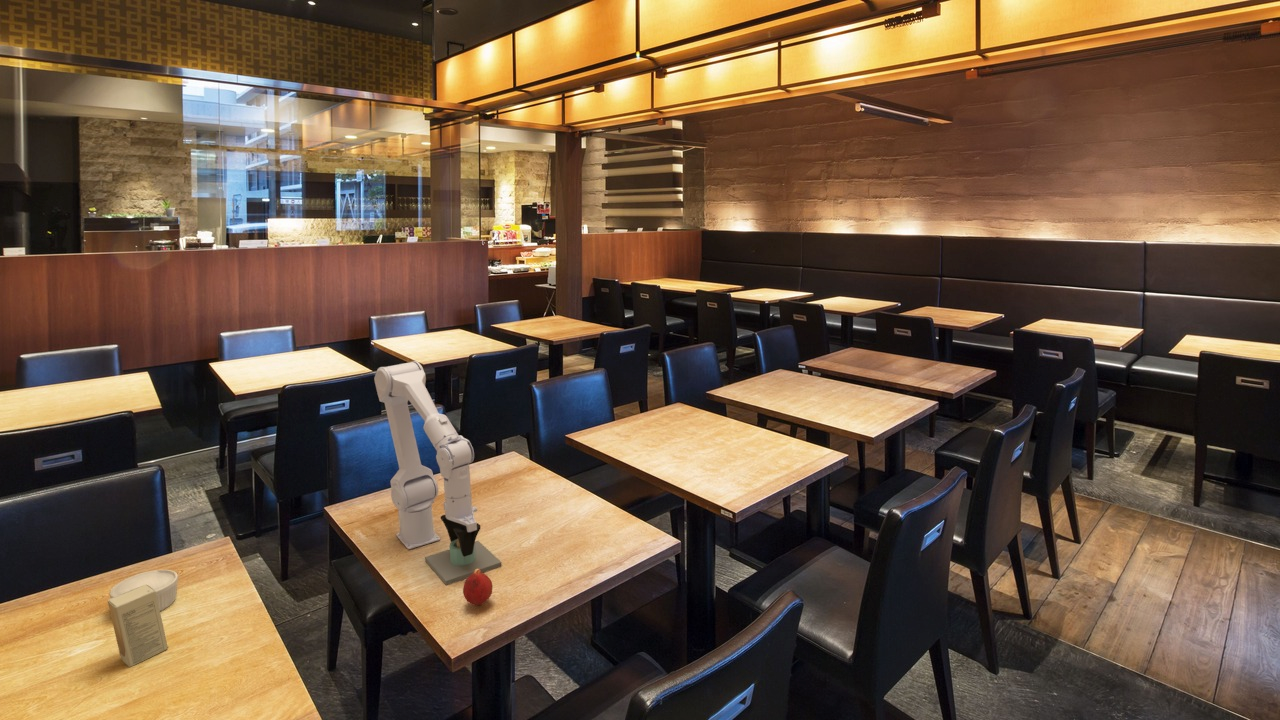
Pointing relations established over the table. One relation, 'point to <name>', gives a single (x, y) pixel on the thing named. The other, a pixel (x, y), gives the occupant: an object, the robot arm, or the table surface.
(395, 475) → the robot arm
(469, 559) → the green ring
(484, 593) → the onion
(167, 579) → the ramekin
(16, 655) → the table surface
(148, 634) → the skincare box
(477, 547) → the grey board
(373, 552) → the table surface
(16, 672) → the table surface
